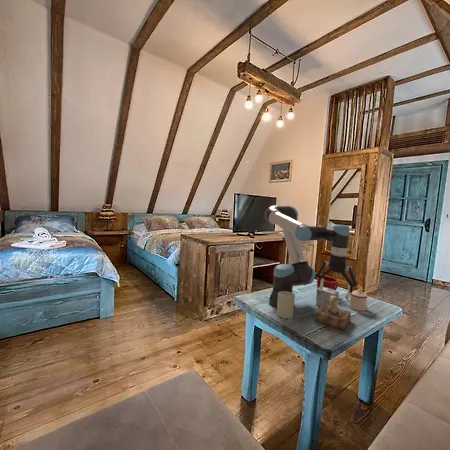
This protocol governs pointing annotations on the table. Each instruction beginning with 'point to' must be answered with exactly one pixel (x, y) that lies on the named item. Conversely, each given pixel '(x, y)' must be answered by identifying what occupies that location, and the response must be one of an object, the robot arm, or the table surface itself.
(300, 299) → the table surface
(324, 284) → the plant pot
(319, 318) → the bore block
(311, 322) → the table surface
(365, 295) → the teacup with lid
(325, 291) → the light bulb box
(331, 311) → the dowel pin
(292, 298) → the can
